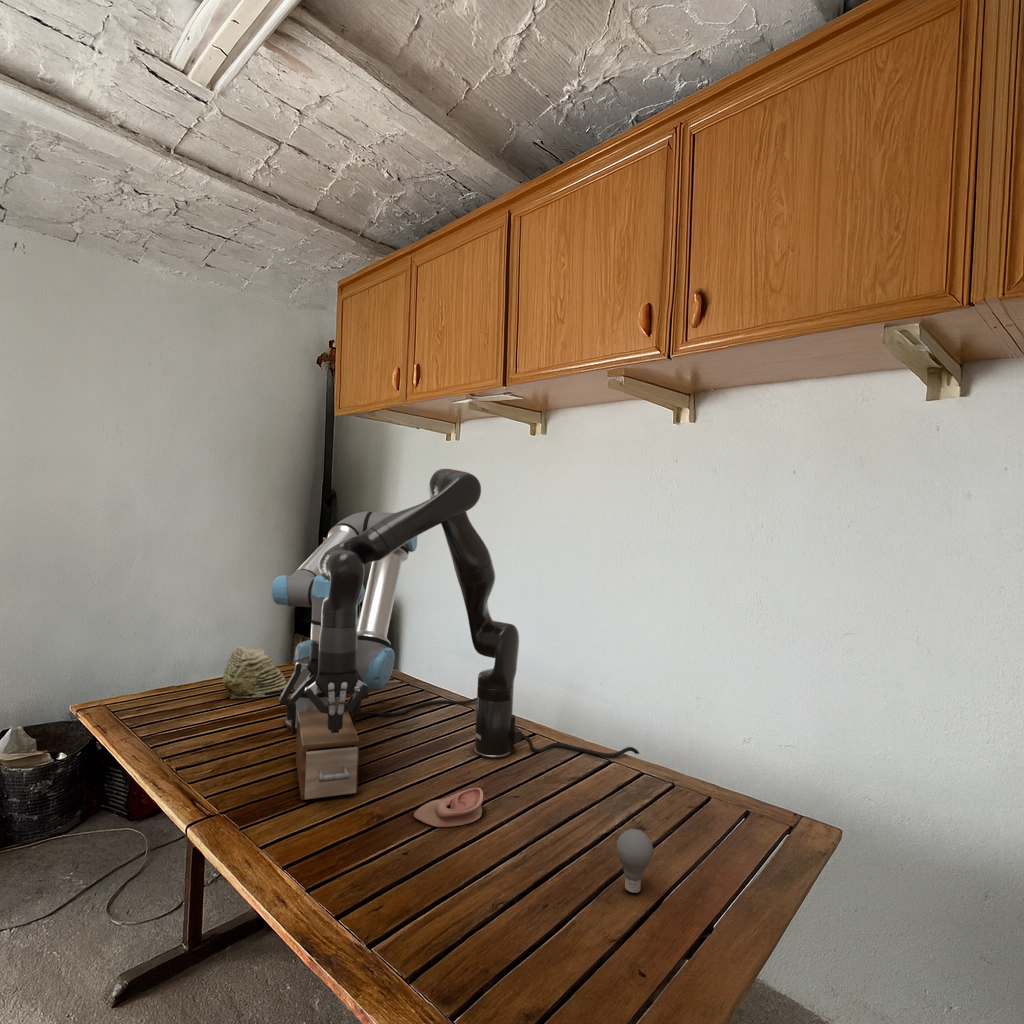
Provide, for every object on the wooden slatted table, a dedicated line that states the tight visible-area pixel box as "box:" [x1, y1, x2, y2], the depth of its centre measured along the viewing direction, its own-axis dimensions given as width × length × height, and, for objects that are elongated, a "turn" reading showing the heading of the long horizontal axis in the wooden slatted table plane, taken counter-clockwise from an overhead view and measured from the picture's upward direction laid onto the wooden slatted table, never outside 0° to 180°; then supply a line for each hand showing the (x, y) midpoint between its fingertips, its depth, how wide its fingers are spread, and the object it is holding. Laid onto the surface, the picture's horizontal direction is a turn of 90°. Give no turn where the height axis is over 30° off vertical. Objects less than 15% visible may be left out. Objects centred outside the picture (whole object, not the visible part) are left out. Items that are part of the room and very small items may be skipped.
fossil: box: [222, 646, 287, 699], centre depth 198 cm, size 9×18×15 cm, turn 132°
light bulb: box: [615, 828, 654, 894], centre depth 106 cm, size 6×6×10 cm
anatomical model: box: [413, 787, 484, 828], centre depth 129 cm, size 13×4×12 cm
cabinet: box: [295, 709, 360, 801], centre depth 144 cm, size 22×12×12 cm, turn 22°
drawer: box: [304, 746, 358, 800], centre depth 139 cm, size 26×10×10 cm, turn 22°
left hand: (323, 730), depth 150 cm, fingers open, 13 cm apart
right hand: (334, 731), depth 129 cm, fingers closed
